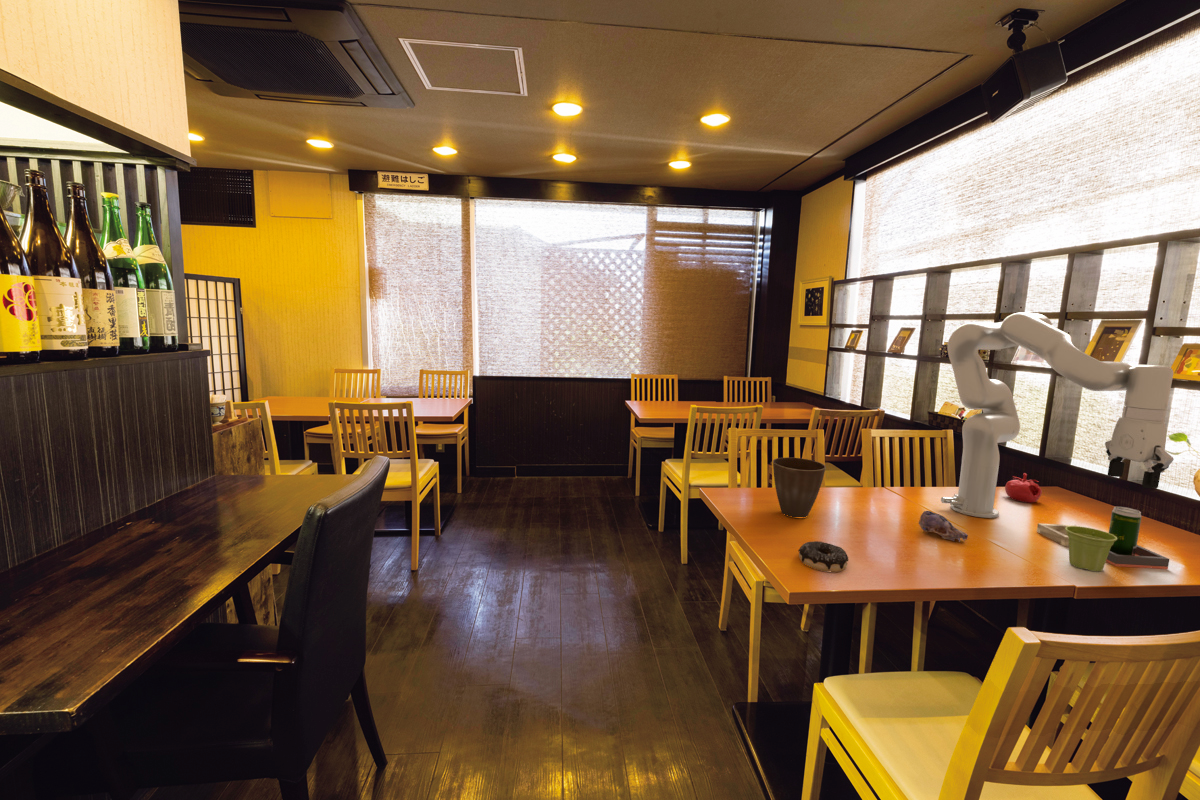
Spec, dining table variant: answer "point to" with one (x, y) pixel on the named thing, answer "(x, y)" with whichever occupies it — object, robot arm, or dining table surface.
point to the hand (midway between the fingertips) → (1131, 481)
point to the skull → (940, 526)
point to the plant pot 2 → (1089, 547)
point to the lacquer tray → (1139, 559)
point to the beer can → (1125, 530)
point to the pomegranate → (1023, 490)
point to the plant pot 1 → (797, 484)
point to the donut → (823, 556)
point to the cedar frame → (1054, 532)
